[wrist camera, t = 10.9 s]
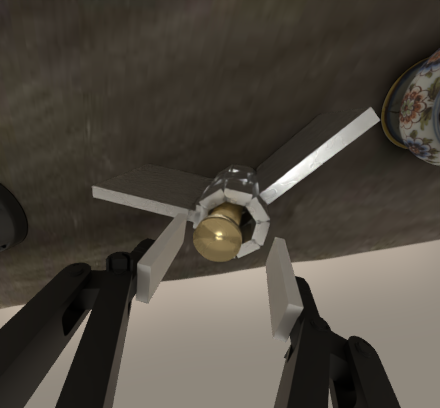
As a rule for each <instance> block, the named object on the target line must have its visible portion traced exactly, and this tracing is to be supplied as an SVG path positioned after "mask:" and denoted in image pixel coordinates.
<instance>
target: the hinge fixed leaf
mask: <svg viewBox="0 0 440 408" xmlns="http://www.w3.org/2000/svg"><path fill="white" fill-rule="evenodd" d="M227 171H244V172H248V175H249V174H250V173H251V174H252V175H253V176H256V175H257V172H256V171H255V169H254V170H252V167H248V166H243V165H239V164H235V165H233V164H232V165H230V166H229V167H227V168H226V169H224V170H222V171H221V172H219V173H218V174H217V176H216V177H215V179H213V178H209V177H205V176H200V175H196V174H192V173H188V172H183V171H179V170H175V169H171V168H166V167H162V166H158V165H154V164H147V165H144V166H142V167H139V168H137V169H134V170H131V171H129V172H126V173H124V174H121V175H119V176H116V177H113V178H111V179H108V180H106V181H103V182H101V183H98V184H95V185H93V186H92V187H93V197H95V198H99V199H103V200H107V201H111V202H115V203H119V204H123V205H127V206H131V207H135V208H139V209H143V210H147V211H151V212H155V213H159V214H163V215H167V216H171V217H176V216H177V214H178V213H181V214H185V215H187V221H191V222H194V224H193V228H195V229H196V227H197V226H198V224H199V223H200V221H201V220H202V219H203V218H205V217H207V216H209V215H211V213H212V211H213V208H215V207H216V206H218V205H220V204H222V203H223V202H225V201H227V202H231V203H235V204H239V205H243V210H242V214H243V213H245V212H246V211H247V210H249V212H250V213H251V215H252V216H253V219H252V222H251V223H249V224H247V225H245V226H243V227H241V228H240V229H241V232H242V242H241V248H240V251H239V252H238V254H237V257H238V258H240V257H242V256H244V255H246V254H248V253H251V252H253V251H255V250H257V249H259V248H260V245H263V244H264V241H265V238H266V235H267V232H268V229H269V226H270V217H269V212H268V206H267V203H266V202H265V201H264V200H263V199H262V198H261V196H260V195H259V190H258V189H257V187H256V185H255V186H253V183H250V182H246V181H241V180H237V179H233V178H229V180H228V181H227V179H224V180H222V181H221V182H219V183H217V184H216V185H214V186H212V187H211V188H209V187H210V185H211V184H212V183H213V182H214V181H215V180H216V179H217V178H218V177H220V176H221V175H222V174H223V173H224V172H226V173H227ZM208 188H209V189H208ZM207 189H208V190H207ZM194 231H195V230H194ZM234 258H235V257H234Z"/></svg>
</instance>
